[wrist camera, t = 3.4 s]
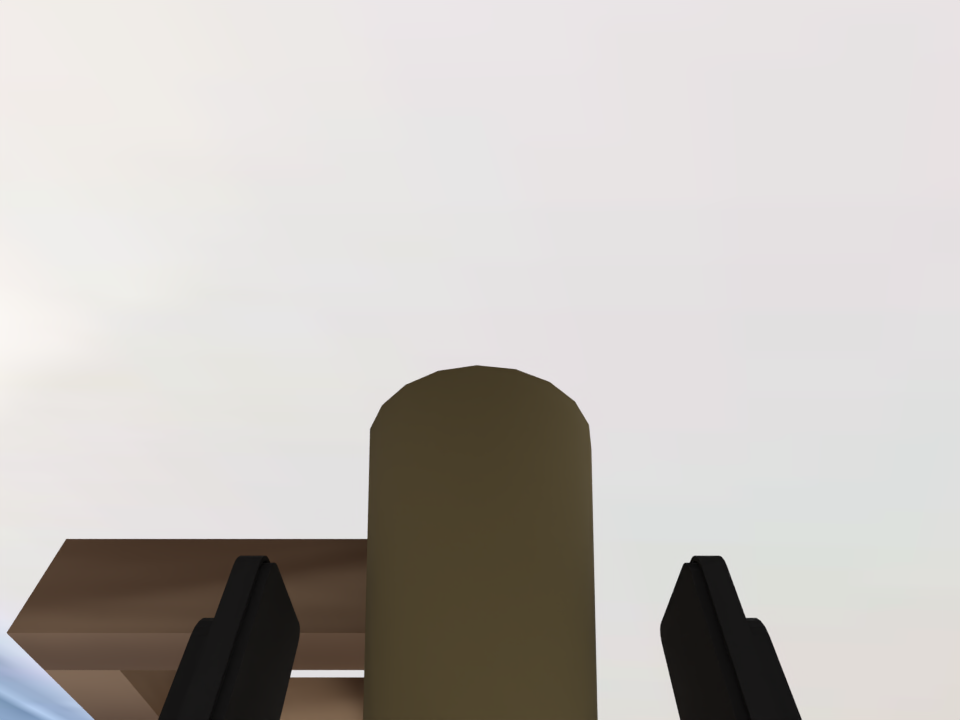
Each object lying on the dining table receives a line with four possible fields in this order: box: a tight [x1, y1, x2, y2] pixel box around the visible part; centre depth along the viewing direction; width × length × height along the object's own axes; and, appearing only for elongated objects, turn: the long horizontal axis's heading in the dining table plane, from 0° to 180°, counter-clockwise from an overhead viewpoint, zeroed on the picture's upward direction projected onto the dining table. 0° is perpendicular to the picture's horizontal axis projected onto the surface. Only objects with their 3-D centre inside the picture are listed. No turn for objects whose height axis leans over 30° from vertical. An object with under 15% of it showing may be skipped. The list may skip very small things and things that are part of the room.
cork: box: [363, 365, 598, 720], centre depth 12 cm, size 6×6×11 cm
